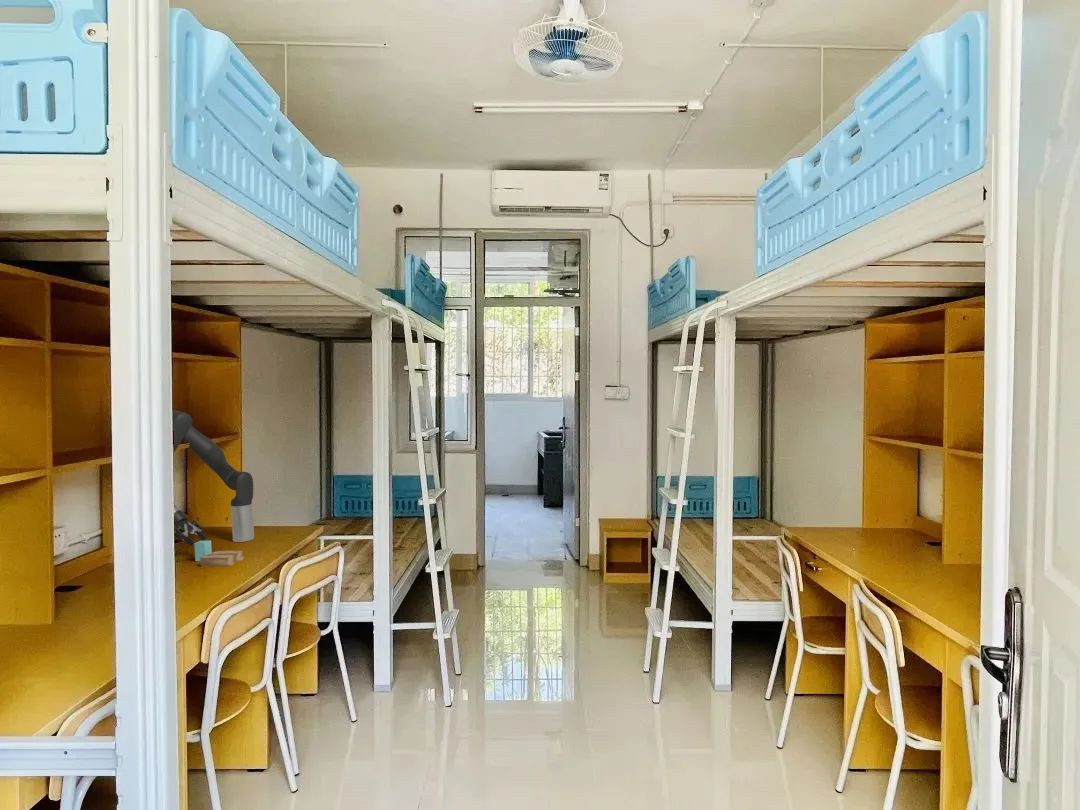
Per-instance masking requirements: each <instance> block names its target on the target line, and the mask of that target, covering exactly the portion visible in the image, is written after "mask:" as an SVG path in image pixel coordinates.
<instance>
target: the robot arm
mask: <svg viewBox="0 0 1080 810" xmlns="http://www.w3.org/2000/svg"><path fill="white" fill-rule="evenodd" d="M172 411H173V431H174V453H175V452H176V450H177V449H178V446H180V444H181V442H183V443H185V442H188V443H190V444H189V445H190V446H187V447H188V448H189V449H190V450H191V451H192V453H194V454H195V455H196V456H197V457H198V458H199V460H201V461H202V462H203V463H204V464H205V465H206V466H208V467H209V468H210V469H211V470H212V471H213V472H214V473H216V474H217V476H218V477H219V478H220V480H222V482H223V483H224V484H225V486H226V487H228V489H230V490H232V491H235V497H234V498H232V499H231V500H230V512H231V513H230V514H231V533H232V542H234V543H244V542H249V541H252V540H255V539H254V538H255V530H254V529H255V527H254V518H253V503H252V502H253V499H254V480H253V479H254V478H253V476H252V474H251V473H250V472H248V471H239V470H237V469H235V468H234V467H233V466H231V464H230V463H229V462H228V460H227V459H226V456H225V453H224V451H223V449H221V447H219V446H218V445H217V444H216V443H215V442H214V441H213V440H212V439H210V438H209V437H207V436H206V435H204V434H203V433H201V432H200V431H199V430H197V429H196V428H195V427H194V426H193V418H192V417H191V415H190V414H188V412H183V411H180V410H172ZM173 504H174V515H175V535H174V537H175V538H176V539H177V540H178V541H181V540H182V541H184V542H186V544H187V545H189V546H190V547H192V546H194V545H195V544H194V543H196V542H195V541H194V540H193V539H192V538H191V537H190V535H189V534H191V535H193V534H194V535H196V536H197V537H198V538H199V539H200V541H207V540H208V538H207V536H206V535H205V534H204V532H203V530H204V528H203V527H202V526H201V525H200V524H199V523H198V522H197V521H196V520H194V519H193V520H192V521H191V522H190V521H189V520H188V516H187V515H186V513H185V512H183V511H182V509H181V508H179V507H178V506H177V505H176V504H175V503H173Z"/></svg>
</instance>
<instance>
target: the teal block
mask: <svg viewBox="0 0 1080 810" xmlns="http://www.w3.org/2000/svg"><path fill="white" fill-rule="evenodd" d="M193 545H194V559H195V561H200V558H202V557H204V556H206V555H209V554H211V553H213V549H212V540H205V541H202V540H199V541H197V542H195V543H194V544H193Z"/></svg>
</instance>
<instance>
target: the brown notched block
mask: <svg viewBox="0 0 1080 810" xmlns="http://www.w3.org/2000/svg"><path fill="white" fill-rule="evenodd" d="M244 553H245V552H244V550H215V551H214V552H213V551H212V553H211V554H209V555H206V556H204V557H202V558H200V562H199V565H201V566H218V568H223V567H224V568H225V567H230V566H232V565H234V564H237V563H238V562H240V561H242V560H244V559H245V557H244V555H245V554H244Z"/></svg>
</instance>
